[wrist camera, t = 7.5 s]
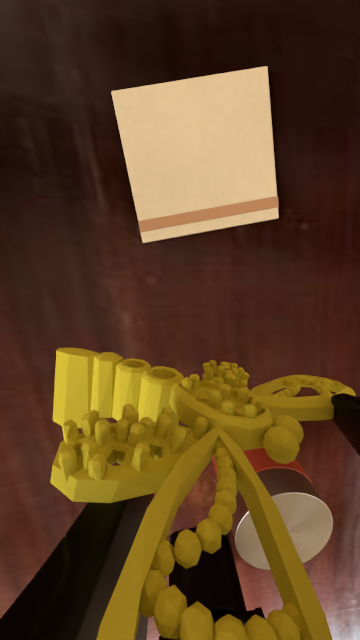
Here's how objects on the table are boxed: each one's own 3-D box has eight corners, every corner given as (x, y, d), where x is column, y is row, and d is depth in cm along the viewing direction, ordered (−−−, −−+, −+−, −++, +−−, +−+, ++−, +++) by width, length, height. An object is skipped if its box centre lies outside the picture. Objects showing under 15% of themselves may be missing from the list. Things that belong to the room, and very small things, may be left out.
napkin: (265, 70, 17) (268, 64, 16) (276, 219, 19) (279, 217, 19) (112, 95, 16) (110, 89, 16) (143, 243, 19) (142, 242, 18)
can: (267, 399, 23) (333, 482, 14) (273, 453, 24) (335, 558, 16) (202, 412, 23) (227, 505, 14) (212, 466, 24) (240, 580, 16)
